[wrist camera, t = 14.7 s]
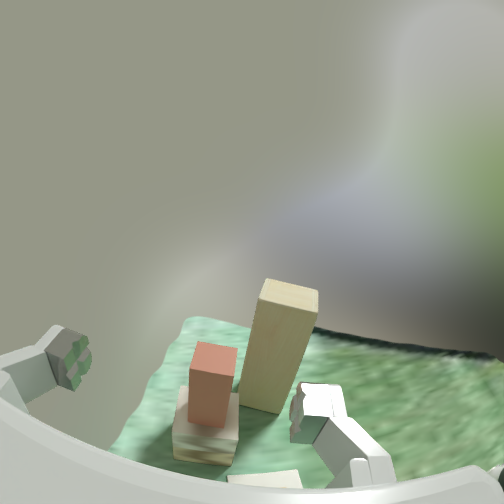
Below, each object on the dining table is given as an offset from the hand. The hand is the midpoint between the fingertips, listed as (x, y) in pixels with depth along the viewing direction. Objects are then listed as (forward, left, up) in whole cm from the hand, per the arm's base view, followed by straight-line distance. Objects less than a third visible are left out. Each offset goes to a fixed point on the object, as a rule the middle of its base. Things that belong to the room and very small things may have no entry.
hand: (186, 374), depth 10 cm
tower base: (-1, -16, -32) cm, 36 cm away
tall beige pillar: (-10, -27, -32) cm, 43 cm away
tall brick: (-1, -16, -24) cm, 29 cm away
